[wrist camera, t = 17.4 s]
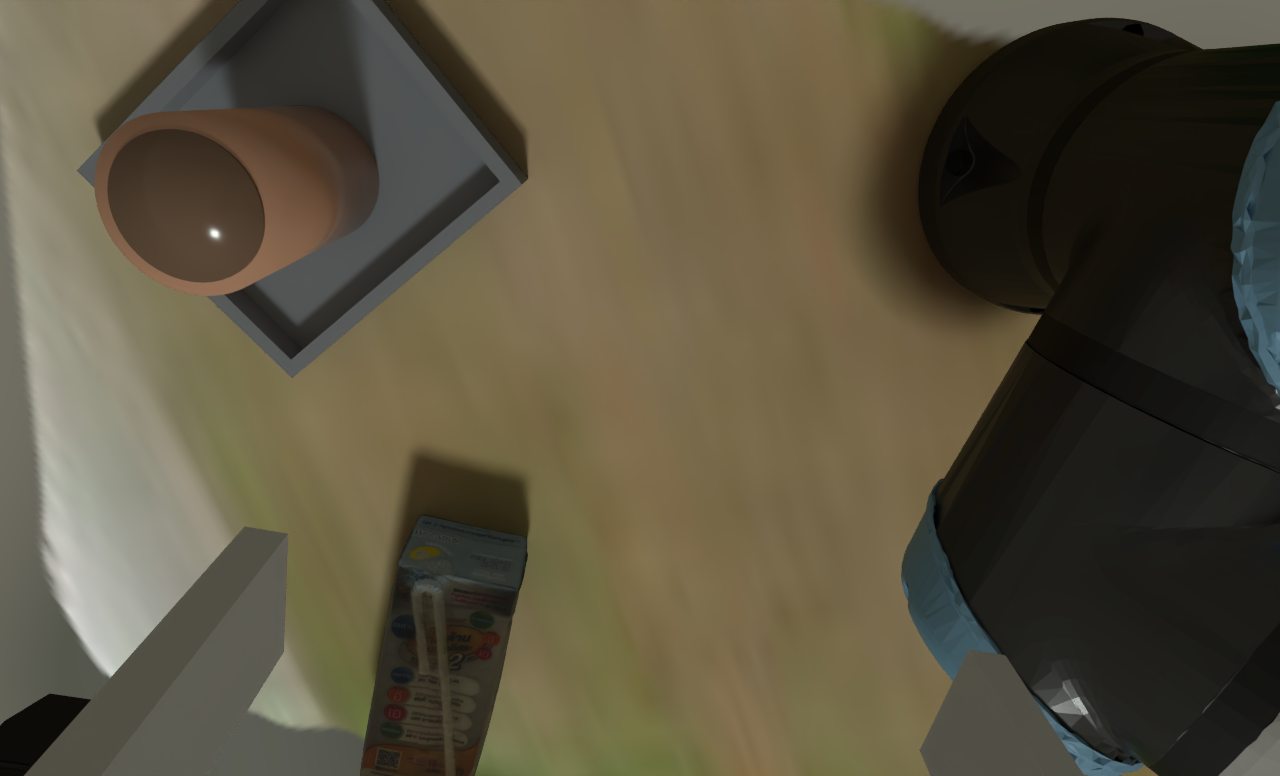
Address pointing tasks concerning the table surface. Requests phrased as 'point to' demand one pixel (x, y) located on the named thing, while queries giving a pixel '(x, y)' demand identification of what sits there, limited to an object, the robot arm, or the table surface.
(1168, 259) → the robot arm
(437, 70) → the grey square tray
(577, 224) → the table surface
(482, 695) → the beverage carton
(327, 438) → the table surface
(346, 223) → the terracotta cup
